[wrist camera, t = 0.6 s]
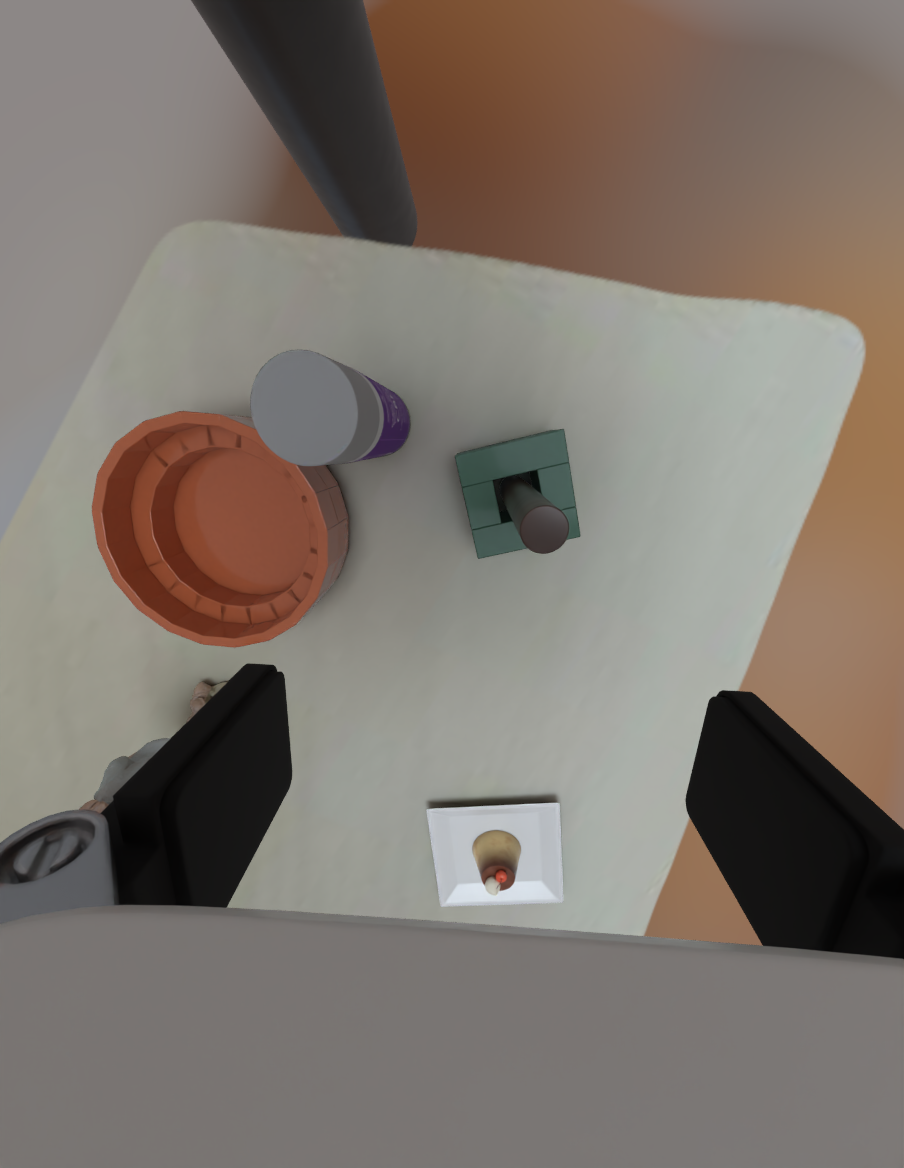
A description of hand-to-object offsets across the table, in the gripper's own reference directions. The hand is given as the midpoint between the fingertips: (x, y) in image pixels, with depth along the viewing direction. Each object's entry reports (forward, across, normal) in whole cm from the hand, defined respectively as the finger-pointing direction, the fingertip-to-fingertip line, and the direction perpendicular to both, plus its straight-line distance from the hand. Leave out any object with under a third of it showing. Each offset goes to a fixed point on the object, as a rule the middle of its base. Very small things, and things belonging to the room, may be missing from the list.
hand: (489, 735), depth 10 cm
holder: (+26, -2, -3) cm, 26 cm away
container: (+26, +8, -7) cm, 28 cm away
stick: (+26, -2, -3) cm, 26 cm away
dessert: (+26, -4, +31) cm, 41 cm away
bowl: (+26, +17, +1) cm, 31 cm away
